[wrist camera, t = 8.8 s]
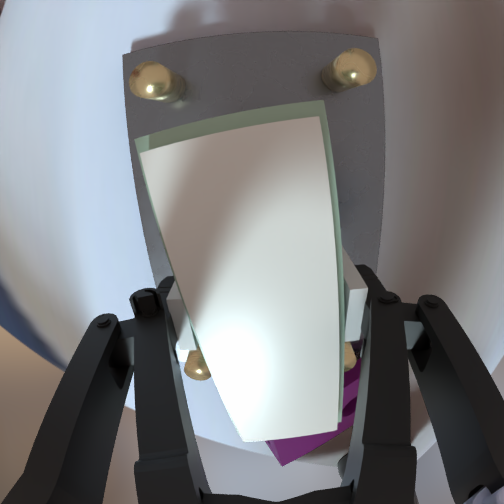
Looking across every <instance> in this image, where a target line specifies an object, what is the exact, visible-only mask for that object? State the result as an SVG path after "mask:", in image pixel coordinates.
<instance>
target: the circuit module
mask: <svg viewBox="0 0 504 504" xmlns="http://www.w3.org/2000/svg"><path fill="white" fill-rule="evenodd" d="M134 140H135V144H136V148H137V153H138V157H139V161H140V165H141V169H142V173H143V176H144V180H145V184H146V188H147V191H148V195H149V199H150V202H151V206H152V209H153V213H154V216H155V219H156V223H157V226H158V229H159V233H160V236H161V239H162V242H163V245H164V249H165V252H166V255H167V258H168V261H169V264H170V267H171V270H172V273H173V276H174V279H175V282H176V285H177V287H178V290H179V293H180V296H181V299H182V301H183V304H184V307H185V310H186V312H187V315H188V318H189V320H190V323H191V326H192V328H193V331H194V333H195V336H196V339H197V341H198V344H199V346H200V349H201V351H202V354H203V356H204V358H205V361H206V363H207V366H208V368H209V370H210V373H211V375H212V377H213V380H214V382H215V384H216V387H217V389H218V391H219V393H220V396H221V398H222V400H223V402H224V405H225V407H226V409H227V411H228V413H229V415H230V418H231V420H232V422H233V424H234V426H235V428H236V430H237V432H238V434H239V435H240V436H241V438H242V440H243V442H254V441H266V440H276V439H285V438H293V437H300V436H307V435H313V434H319V433H324V432H330V431H335V430H337V423H338V422H341V420H342V405H343V386H344V349H345V317H344V280H343V259H342V243H341V230H340V218H339V207H338V197H337V188H336V179H335V171H334V163H333V155H332V148H331V141H330V135H329V128H328V122H327V116H326V110H325V104H324V100H317V101H308V102H299V103H292V104H284V105H277V106H271V107H265V108H259V109H253V110H247V111H242V112H237V113H232V114H227V115H222V116H218V117H213V118H209V119H205V120H200V121H196V122H192V123H188V124H185V125H181V126H177V127H173V128H170V129H166V130H163V131H159V132H156V133H153V134H149V135H146V136H143V137H140V138H137V139H134Z"/></svg>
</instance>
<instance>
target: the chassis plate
mask: <svg viewBox="0 0 504 504" xmlns="http://www.w3.org/2000/svg"><path fill="white" fill-rule="evenodd" d="M123 79H124V95H125V107H126V118H127V128H128V137H129V146H130V154H131V161H132V168H133V175H134V182H135V188H136V194H137V200H138V206H139V211H140V216H141V222H142V227H143V232H144V237H145V242H146V246H147V251H148V255H149V260H150V264H151V268H152V273H153V277H154V281H155V285H156V289H157V288H158V285H159V283H160V282H161V281H162V280H163V279H164V278H165V277H167V276H173V273H172V270H171V267H170V264H169V261H168V258H167V255H166V252H165V249H164V245H163V242H162V239H161V236H160V233H159V229H158V226H157V223H156V219H155V216H154V213H153V209H152V206H151V202H150V199H149V195H148V191H147V188H146V184H145V180H144V176H143V173H142V169H141V165H140V161H139V157H138V153H137V148H136V144H135V140H134V139H137V138H140V137H143V136H146V135H149V134H153V133H156V132H159V131H163V130H166V129H170V128H173V127H177V126H181V125H185V124H188V123H192V122H196V121H200V120H205V119H209V118H213V117H218V116H222V115H227V114H232V113H237V112H242V111H247V110H253V109H259V108H265V107H271V106H277V105H284V104H292V103H299V102H308V101H317V100H324V104H325V110H326V116H327V122H328V128H329V135H330V141H331V148H332V155H333V163H334V171H335V179H336V188H337V197H338V207H339V218H340V230H341V243H342V246H343V248H344V250H345V251H346V253H347V254H348V256H349V257H350V259H351V261H352V262H353V264H354V265H361V264H365V265H366V266H368V267H369V268H371V269H372V270H373V272H374V273H375V275H376V271H377V264H378V255H379V247H380V237H381V226H382V214H383V198H384V177H385V115H384V94H383V80H382V68H381V58H380V49H379V41H378V38H371V37H364V36H356V35H348V34H337V33H323V32H298V31H277V32H251V33H238V34H227V35H218V36H210V37H203V38H196V39H190V40H184V41H179V42H173V43H168V44H164V45H159V46H155V47H150V48H146V49H142V50H138V51H135V52H131V53H127V54H124V55H123ZM363 340H364V335H363V333H362V331H361V334H360V339H359V340H356V341H348V342H345V349H344V372H347V371H349V370H350V369H352V368H353V367H354V366H355V364H356V361H357V360H356V357H355V354H354V352H360V351H361V349H362V344H363ZM175 348H176V352H177V355H178V360H179V361H186V363H185V367H184V371H185V373H186V375H187V376H189V377H190V378H192V379H195V380H207V379H209V378H210V377H211V373H210V370H209V368H208V366H207V363H206V361H205V358H204V356H203V354H202V351H201V349H200V346H199V344H198V346H197V350H180V348H179V344H178V341H177V344H176V347H175Z"/></svg>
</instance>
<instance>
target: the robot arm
mask: <svg viewBox="0 0 504 504" xmlns="http://www.w3.org/2000/svg"><path fill="white" fill-rule="evenodd" d="M342 259H343V280H344V317H345V342H348V341H356V340H359V339H360V334H361V331H362V333H363V335H364V340H363V344H362V349H361V353H360V357H361V368H360V378H359V387H358V396H357V403H356V411H355V418H354V424H353V431H352V437H351V442H350V448H349V453H348V454H347V455H346V456H345V457H343V458H342V459H341V460H340V461H339V463H338V470H339V475H340V477H341V478H342V483H341V486H340V487H338V488H332V489H325V490H317V491H313V492H310V493H307V494H304V495H301V496H298V497H294V498H291V499H287V500H284V501H280V502H272V501H267V500H261V499H256V498H251V497H247V496H242V495H227V494H212V492H211V490H210V488H209V485H208V482H207V479H206V475H205V472H204V469H203V465H202V462H201V458H200V454H199V450H198V446H197V442H196V439H195V435H194V430H193V426H192V422H191V418H190V414H189V409H188V405H187V400H186V395H185V391H184V386H183V381H182V376H181V371H180V365H179V360H178V355H177V352H176V348H175V347H176V344H177V341H178V344H179V348H180V350H197V346H198V341H197V339H196V336H195V333H194V331H193V328H192V326H191V323H190V320H189V318H188V315H187V312H186V310H185V307H184V304H183V301H182V299H181V296H180V293H179V290H178V287H177V285H176V282H175V279H174V276H167V277H165V278H164V279H163V280H162V281H161V282H160V283H159V285H158V288H157V289H155V288H144V289H141V290H138V291H136V292H134V293H133V294H132V295H131V296H130V299H129V300H130V303H131V306H132V309H133V312H134V315H135V318H133V319H130V320H125V321H120V322H119V321H118V318H117V316H116V315H114V314H109V313H108V314H102V315H99V316H98V317H96V318H95V319H94V320H93V321H92V322H91V323H90V325H89V327H88V329H87V331H86V332H85V334H84V336H83V338H82V340H81V342H80V344H79V345H78V347H77V349H76V351H75V353H74V355H73V357H72V359H71V361H70V363H69V365H68V367H67V369H66V371H65V373H64V375H63V377H62V379H61V381H60V384H59V385H58V388H57V390H56V392H55V394H54V396H53V398H52V401H51V403H50V405H49V407H48V410H47V412H46V414H45V417H44V419H43V422H42V424H41V426H40V429H39V431H38V434H37V436H36V439H35V442H34V444H33V447H32V450H31V452H30V455H29V458H28V461H27V464H26V467H25V470H24V473H23V474H22V476H21V477H20V478H19V480H18V481H17V482H16V484H15V485H14V487H13V488H12V489H11V491H10V492H9V493H8V495H7V496H6V497H5V499H4V500H3V502H2V503H1V504H102V503H103V497H104V492H105V486H106V481H107V476H108V470H109V466H110V462H111V457H112V452H113V448H114V444H115V440H116V435H117V431H118V427H119V423H120V419H121V415H122V412H123V408H124V404H125V400H126V397H127V393H128V389H129V386H130V382H131V379H132V376H133V372H134V390H135V411H136V424H137V425H136V426H137V437H138V447H139V461H136V462H135V465H134V475H135V483H136V491H137V497H138V503H139V504H419V503H418V499H417V496H416V492H415V481H416V465H417V451H416V448H415V447H414V446H411V444H410V383H409V367H408V359H409V361H410V364H411V367H412V369H413V372H414V374H415V377H416V380H417V382H418V385H419V388H420V391H421V393H422V396H423V399H424V402H425V405H426V408H427V411H428V414H429V417H430V420H431V423H432V426H433V429H434V432H435V436H436V439H437V442H438V446H439V449H440V453H441V457H442V460H443V464H444V468H445V472H446V476H447V480H448V484H449V487H450V491H451V494H452V497H453V499H454V502H455V504H504V400H503V398H502V396H501V394H500V392H499V390H498V388H497V386H496V385H495V383H494V381H493V379H492V377H491V375H490V373H489V372H488V370H487V368H486V366H485V365H484V363H483V361H482V359H481V358H480V356H479V354H478V353H477V351H476V349H475V348H474V346H473V344H472V343H471V341H470V340H469V338H468V336H467V335H466V333H465V332H464V330H463V329H462V327H461V326H460V324H459V322H458V321H457V319H456V318H455V317H454V315H453V314H452V312H451V311H450V309H449V308H448V306H447V305H446V303H445V302H444V301H443V300H442V299H441V298H439V297H437V296H435V295H423V296H421V297H419V299H418V303H417V304H410V303H402V302H401V299H400V297H399V296H398V295H396V294H395V293H392V292H389V291H386V289H385V288H384V287H383V285H382V284H381V282H380V281H379V279H378V278H377V276H376V275H375V273H374V272H373V270H372V269H371V268H369V267H368V266H366V265H365V264H361V265H354V264H353V262H352V261H351V259H350V257H349V256H348V254H347V253H346V251H345V250H344V248H343V246H342Z"/></svg>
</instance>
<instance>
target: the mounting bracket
mask: <svg viewBox="0 0 504 504" xmlns="http://www.w3.org/2000/svg"><path fill="white" fill-rule="evenodd" d="M360 368H361V358H360V359H359V360H357V361H356V364H355V366H354V367H353V368H352V369H350V370H349V371H347V372H344V386H343V405H342V420H341V422H338V423H337V430H335V431H330V432H324V433H319V434H313V435H307V436H300V437H293V438H285V439H276V440H266V441H265V442H266V443H267V445H268V446H269V448H270V449H271V451H272V452H273V454H274V455H275V457H276V458H277V460H278V461H279V463H280V464H281V465H282V466H284V465H286V464H288V463H290V462H292V461H294V460H296V459H297V458H299V457H301V456H303V455H305V454H307V453H308V452H310V451H312V450H314V449H315V448H317V447H319V446H320V445H322V444H324V443H325V442H327V441H329V440H330V439H332V438H334V437H335V436H337V435H338V434H340V433H341V432H343V431H344V430H346V429H347V428H349V427H350V426H352V425H353V424H354V418H355V411H356V403H357V396H358V387H359V378H360Z"/></svg>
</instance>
